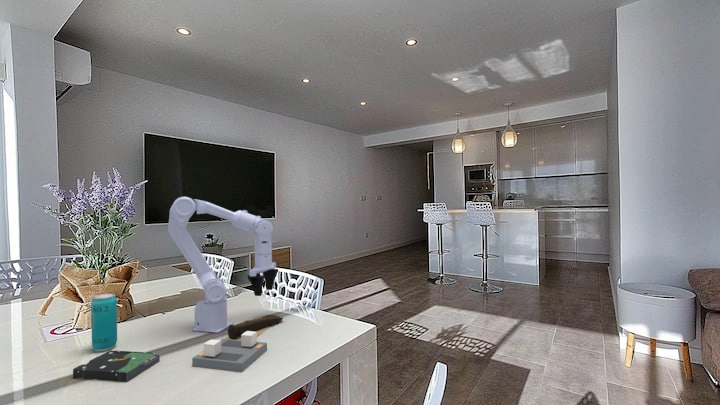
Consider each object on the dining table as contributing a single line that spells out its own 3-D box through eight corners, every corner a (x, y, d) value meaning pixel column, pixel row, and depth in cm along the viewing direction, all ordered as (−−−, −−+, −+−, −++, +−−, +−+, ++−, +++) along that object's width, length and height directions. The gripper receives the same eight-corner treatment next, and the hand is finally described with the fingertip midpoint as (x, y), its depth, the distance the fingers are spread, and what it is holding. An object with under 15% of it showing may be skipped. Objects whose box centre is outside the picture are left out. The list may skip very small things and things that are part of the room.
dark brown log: (234, 327, 98) (225, 323, 101) (234, 340, 98) (225, 336, 101) (284, 310, 113) (275, 307, 116) (284, 322, 114) (275, 319, 116)
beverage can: (95, 346, 96) (94, 294, 96) (119, 342, 98) (118, 292, 98) (88, 354, 91) (87, 299, 91) (114, 350, 93) (113, 297, 93)
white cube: (203, 355, 84) (203, 343, 84) (211, 350, 87) (211, 339, 87) (214, 356, 83) (214, 344, 83) (221, 351, 86) (221, 340, 86)
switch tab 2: (241, 346, 90) (241, 334, 90) (247, 341, 92) (247, 330, 92) (251, 347, 89) (251, 335, 89) (256, 342, 92) (256, 331, 92)
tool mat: (217, 346, 97) (217, 343, 97) (259, 319, 119) (259, 316, 119) (244, 349, 95) (244, 345, 95) (282, 320, 117) (282, 318, 117)
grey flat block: (192, 365, 84) (192, 357, 84) (222, 345, 95) (222, 338, 95) (241, 371, 80) (241, 363, 80) (267, 350, 92) (266, 342, 92)
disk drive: (71, 381, 79) (128, 384, 77) (71, 369, 78) (127, 371, 77) (110, 360, 89) (160, 362, 87) (109, 349, 89) (160, 351, 87)
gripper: (262, 257, 108) (263, 299, 108) (283, 250, 122) (283, 287, 122) (243, 256, 110) (244, 298, 110) (265, 250, 124) (266, 286, 124)
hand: (263, 292), depth 116 cm, fingers open, 7 cm apart
